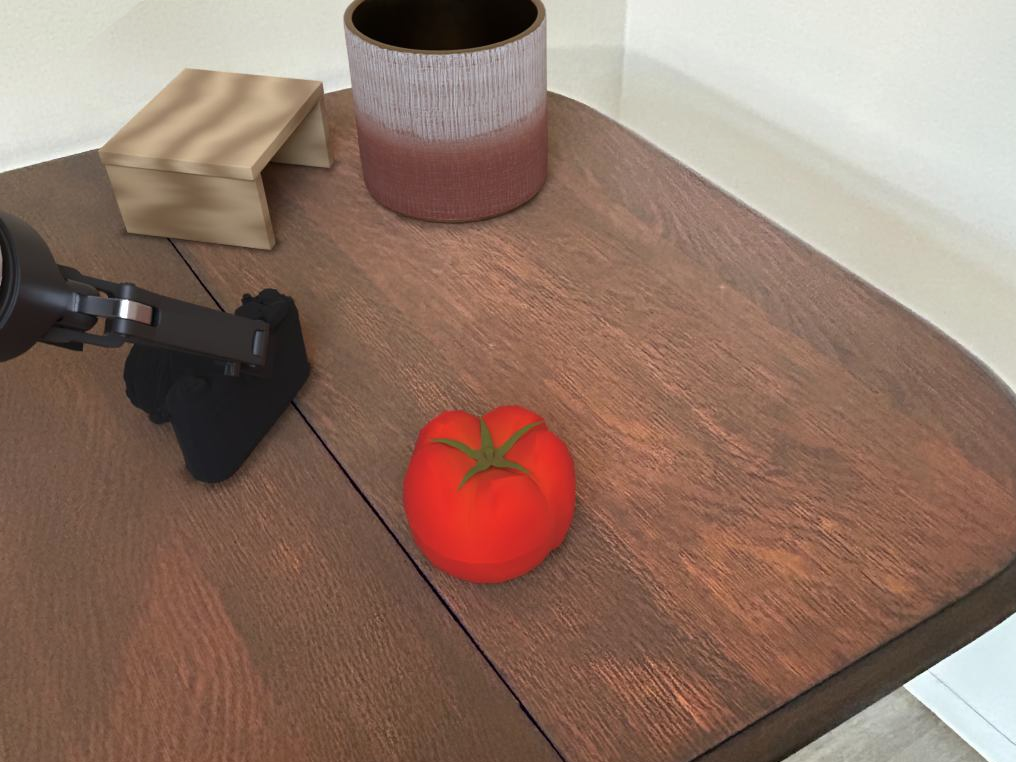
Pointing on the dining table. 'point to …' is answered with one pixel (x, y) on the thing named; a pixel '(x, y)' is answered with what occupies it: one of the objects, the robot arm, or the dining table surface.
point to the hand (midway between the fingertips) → (173, 344)
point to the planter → (450, 104)
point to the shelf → (214, 154)
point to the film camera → (221, 391)
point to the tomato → (489, 493)
